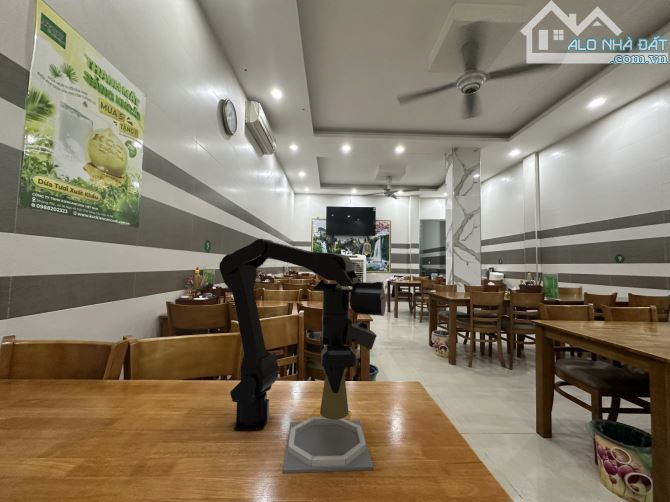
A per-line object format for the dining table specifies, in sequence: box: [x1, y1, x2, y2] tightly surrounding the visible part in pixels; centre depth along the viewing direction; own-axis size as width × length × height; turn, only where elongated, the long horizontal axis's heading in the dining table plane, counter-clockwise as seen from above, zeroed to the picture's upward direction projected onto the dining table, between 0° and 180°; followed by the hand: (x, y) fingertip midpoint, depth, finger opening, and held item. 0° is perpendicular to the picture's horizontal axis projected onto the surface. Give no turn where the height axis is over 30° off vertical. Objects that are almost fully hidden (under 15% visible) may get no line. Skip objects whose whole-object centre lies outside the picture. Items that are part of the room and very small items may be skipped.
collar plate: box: [282, 416, 374, 474], centre depth 60 cm, size 16×16×2 cm
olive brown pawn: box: [319, 366, 350, 420], centre depth 62 cm, size 6×6×11 cm
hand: (334, 387), depth 62 cm, fingers closed on olive brown pawn, 5 cm apart
